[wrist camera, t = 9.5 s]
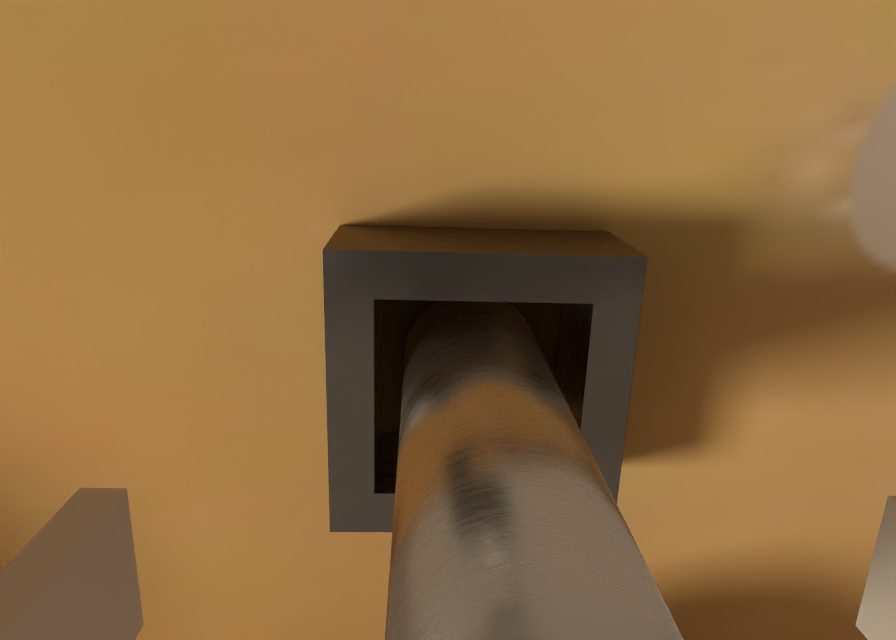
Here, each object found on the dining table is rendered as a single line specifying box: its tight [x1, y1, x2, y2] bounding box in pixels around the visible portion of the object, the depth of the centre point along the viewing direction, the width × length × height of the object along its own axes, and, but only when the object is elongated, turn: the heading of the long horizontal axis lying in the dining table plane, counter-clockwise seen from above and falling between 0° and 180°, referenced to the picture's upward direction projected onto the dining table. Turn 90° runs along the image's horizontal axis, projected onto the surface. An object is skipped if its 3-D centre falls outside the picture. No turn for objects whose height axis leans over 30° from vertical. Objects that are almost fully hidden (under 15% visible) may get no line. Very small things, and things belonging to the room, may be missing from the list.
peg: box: [385, 301, 683, 640], centre depth 14 cm, size 4×4×13 cm
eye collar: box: [323, 225, 647, 532], centre depth 19 cm, size 8×8×4 cm
